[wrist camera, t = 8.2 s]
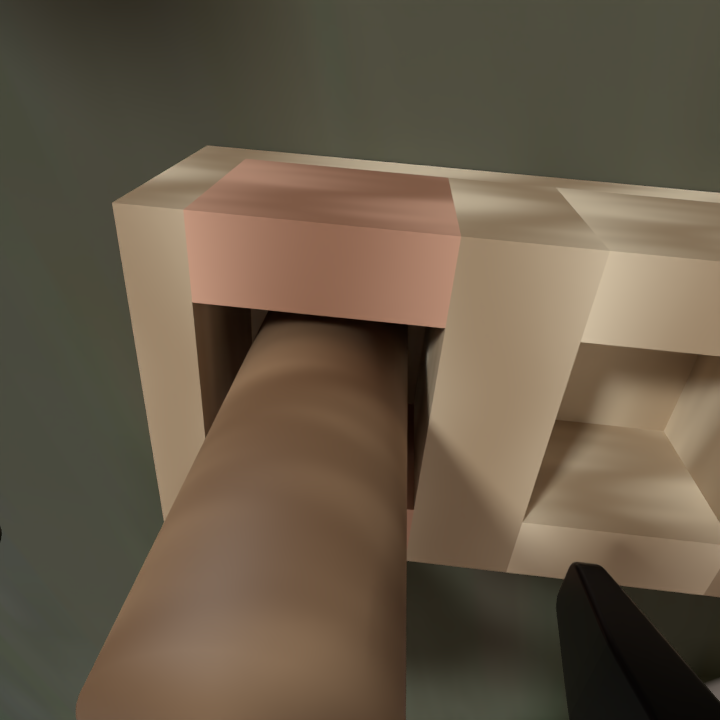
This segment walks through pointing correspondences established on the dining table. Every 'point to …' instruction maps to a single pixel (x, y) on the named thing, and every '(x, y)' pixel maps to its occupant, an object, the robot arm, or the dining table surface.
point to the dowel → (279, 545)
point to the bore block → (462, 343)
